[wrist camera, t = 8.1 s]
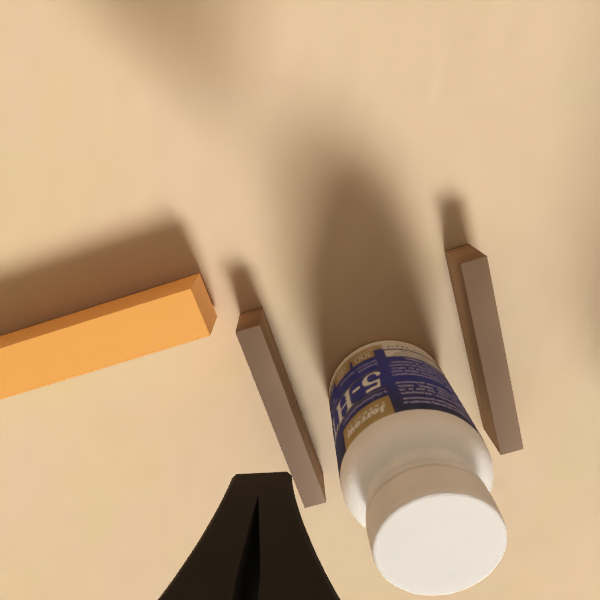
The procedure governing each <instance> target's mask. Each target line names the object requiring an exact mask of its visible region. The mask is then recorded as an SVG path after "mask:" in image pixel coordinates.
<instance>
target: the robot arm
mask: <svg viewBox="0 0 600 600" xmlns="http://www.w3.org/2000/svg"><path fill="white" fill-rule="evenodd" d="M158 600H340V598H339V597H338V595H337V593H336V592H335V590H334V588H333V586H332V584H331V582H330V581H329V579H328V577H327V575H326V573H325V571H324V569H323V567H322V565H321V563H320V561H319V559H318V557H317V554H316V552H315V550H314V548H313V546H312V543H311V541H310V538H309V536H308V533H307V531H306V528H305V526H304V524H303V521H302V518H301V515H300V512H299V509H298V506H297V502H296V499H295V495H294V490H293V485H292V475H290V474H289V473H288V472H273V473H252V474H236V475H235V476H234V477H233V478H232V480H231V482H230V485H229V487H228V489H227V491H226V493H225V495H224V497H223V499H222V501H221V503H220V505H219V507H218V509H217V511H216V513H215V514H214V516H213V518H212V520H211V521H210V523H209V525H208V527H207V528H206V530H205V532H204V533H203V535H202V537H201V538H200V540H199V542H198V543H197V545H196V546H195V548H194V550H193V551H192V553H191V554H190V556H189V557H188V559H187V560H186V561H185V563H184V564H183V566H182V567H181V569H180V570H179V572H178V573H177V575H176V576H175V578H174V579H173V580H172V582H171V583H170V585H169V586H168V587H167V589H166V590H165V591H164V593H163V594H162V595H161V597H160V598H159V599H158Z"/></svg>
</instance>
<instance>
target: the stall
mask: <svg viewBox="0 0 600 600" xmlns="http://www.w3.org/2000/svg"><path fill="white" fill-rule="evenodd" d="M445 255H446V259H447V264H448V268H449V273H450V278H451V282H452V287H453V291H454V296H455V300H456V305H457V309H458V314H459V318H460V323H461V328H462V332H463V337H464V341H465V346H466V350H467V355H468V359H469V364H470V368H471V373H472V378H473V382H474V387H475V391H476V396H477V400H478V405H479V409H480V414H481V419H482V423H483V428H484V430H485V431H486V433H487V434H488V436H489V437H490V439H491V440H492V442H493V444H494V445H495V447H496V448H497V450H498V451H499V453H500V454H501V455H502V454H506V453H510V452H513V451H517V450H521V449H523V444H522V439H521V433H520V428H519V423H518V417H517V412H516V407H515V402H514V396H513V391H512V386H511V381H510V375H509V370H508V365H507V360H506V354H505V349H504V344H503V339H502V333H501V328H500V323H499V317H498V312H497V307H496V302H495V296H494V291H493V286H492V281H491V275H490V270H489V265H488V260H487V256H486V255H484V254H483V253H481V252H480V251H478V250H477V249H475V248H474V247H472V246H471V245H469V244H466V245H463V246H460V247H456V248H453V249H450V250H447V251H445ZM236 335H237V337H238V340H239V342H240V345H241V347H242V350H243V352H244V355H245V358H246V360H247V363H248V365H249V368H250V370H251V373H252V375H253V378H254V380H255V383H256V385H257V388H258V390H259V393H260V396H261V398H262V401H263V403H264V406H265V408H266V411H267V413H268V416H269V418H270V421H271V423H272V426H273V428H274V431H275V434H276V436H277V439H278V441H279V444H280V446H281V449H282V451H283V454H284V456H285V459H286V461H287V464H288V466H289V469H290V472H291V474H292V477H293V479H294V482H295V484H296V487H297V489H298V492H299V494H300V497H301V499H302V502H303V504H304V507H305V508H307V507H310V506H314V505H318V504H321V503H325V502H326V497H325V488H324V478H323V471H322V469H321V466H320V463H319V460H318V458H317V455H316V452H315V450H314V447H313V444H312V441H311V439H310V436H309V433H308V430H307V428H306V425H305V422H304V420H303V417H302V414H301V411H300V409H299V406H298V403H297V401H296V398H295V395H294V392H293V390H292V387H291V384H290V381H289V379H288V376H287V373H286V371H285V368H284V365H283V362H282V360H281V357H280V354H279V351H278V349H277V346H276V343H275V341H274V338H273V335H272V332H271V330H270V327H269V324H268V321H267V319H266V316H265V313H264V311H263V308H262V307H261V308H258V309H254V310H251V311H248V312H245V313H241V314H240V317H239V321H238V325H237V329H236Z"/></svg>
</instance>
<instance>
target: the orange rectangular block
mask: <svg viewBox="0 0 600 600" xmlns="http://www.w3.org/2000/svg"><path fill="white" fill-rule="evenodd" d="M216 318H217V315H216V313H215V310H214V308H213V305H212V303H211V300H210V298H209V295H208V293H207V290H206V288H205V285H204V283H203V280H202V278H201V275H200V273H199V274H195V275H192V276H189V277H186V278H183V279H180V280H176V281H173V282H170V283H167V284H164V285H161V286H158V287H154V288H151V289H148V290H145V291H142V292H139V293H135V294H132V295H129V296H126V297H123V298H120V299H116V300H113V301H110V302H107V303H104V304H101V305H97V306H94V307H91V308H88V309H85V310H82V311H78V312H75V313H72V314H69V315H66V316H63V317H59V318H56V319H53V320H50V321H47V322H44V323H40V324H37V325H34V326H31V327H28V328H25V329H21V330H18V331H15V332H12V333H9V334H6V335H2V336H0V399H3V398H7V397H10V396H13V395H16V394H20V393H23V392H26V391H30V390H33V389H36V388H39V387H43V386H46V385H49V384H53V383H56V382H59V381H62V380H66V379H69V378H72V377H76V376H79V375H82V374H85V373H89V372H92V371H95V370H99V369H102V368H105V367H108V366H112V365H115V364H118V363H121V362H125V361H128V360H131V359H135V358H138V357H141V356H144V355H148V354H151V353H154V352H158V351H161V350H164V349H167V348H171V347H174V346H177V345H181V344H184V343H187V342H190V341H194V340H197V339H200V338H204V337H207V336H210V334H211V332H212V329H213V326H214V323H215V321H216Z"/></svg>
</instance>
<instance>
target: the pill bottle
mask: <svg viewBox="0 0 600 600" xmlns="http://www.w3.org/2000/svg"><path fill="white" fill-rule="evenodd" d="M329 404H330V412H331V419H332V427H333V435H334V441H335V449H336V455H337V462H338V470H339V477H340V484H341V489H342V493H343V497H344V500H345V502H346V505H347V506H348V508H349V510H350V512H351V513H352V515H353V516H354V517H355V519H356V520H357V521H358V522H359V523H360V524H361V525H362V526H364V527H365V528H366V530H367V535H368V538H369V543H370V547H371V551H372V555H373V559H374V562H375V564H376V566H377V568H378V570H379V571H380V573H381V574H382V575H383V576H384V578H385V579H387V580H388V581H389V582H390V583H391V584H393V585H394V586H396V587H398V588H400V589H402V590H405V591H408V592H410V593H414V594H421V595H445V594H451V593H455V592H459V591H461V590H464V589H466V588H469V587H471V586H473V585H475V584H476V583H478V582H480V581H481V580H482V579H484V578H485V577H487V576H488V575H489V574H490V573H491V572H492V571H493V569H494V568H495V567H496V566H497V565H498V564H499V562H500V560H501V558H502V557H503V554H504V552H505V549H506V544H507V530H506V526H505V522H504V520H503V517H502V515H501V513H500V511H499V509H498V507H497V505H496V503H495V501H494V500H493V498H492V496H491V494H490V492H491V489H492V484H493V464H492V459H491V456H490V453H489V451H488V449H487V446H486V444H485V442H484V440H483V438H482V437H481V435H480V433H479V432H478V430H477V429H476V427H475V425H474V423H473V422H472V420H471V418H470V417H469V415H468V413H467V412H466V410H465V408H464V407H463V405H462V403H461V402H460V400H459V399H458V397H457V395H456V394H455V392H454V390H453V389H452V387H451V385H450V384H449V382H448V380H447V379H446V377H445V375H444V373H443V372H442V370H441V369H440V367H439V366H438V365H437V363H436V362H435V360H434V359H433V358H432V357H431V356H430V355H429V354H428V353H426V352H425V351H424V350H422V349H420V348H419V347H417V346H415V345H412V344H410V343H406V342H402V341H395V340H386V341H378V342H373V343H370V344H367V345H364V346H362V347H360V348H358V349H357V350H355V351H353V352H352V353H351V354H349V355H348V356H347V357H346V358H345V359H344V360H343V361H342V362H341V363H340V365H339V366H338V368H337V369H336V371H335V373H334V375H333V377H332V380H331V383H330V387H329Z"/></svg>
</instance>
